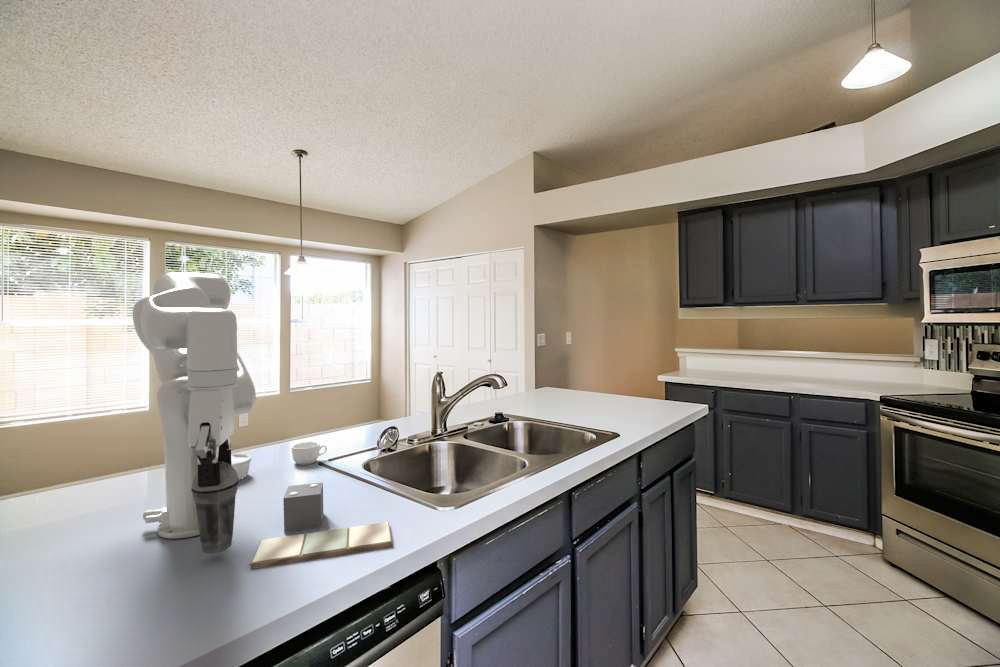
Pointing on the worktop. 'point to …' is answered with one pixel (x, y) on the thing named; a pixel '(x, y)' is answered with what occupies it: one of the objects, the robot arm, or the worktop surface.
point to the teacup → (306, 452)
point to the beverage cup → (216, 509)
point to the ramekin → (241, 464)
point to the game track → (321, 544)
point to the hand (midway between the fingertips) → (215, 477)
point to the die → (303, 507)
